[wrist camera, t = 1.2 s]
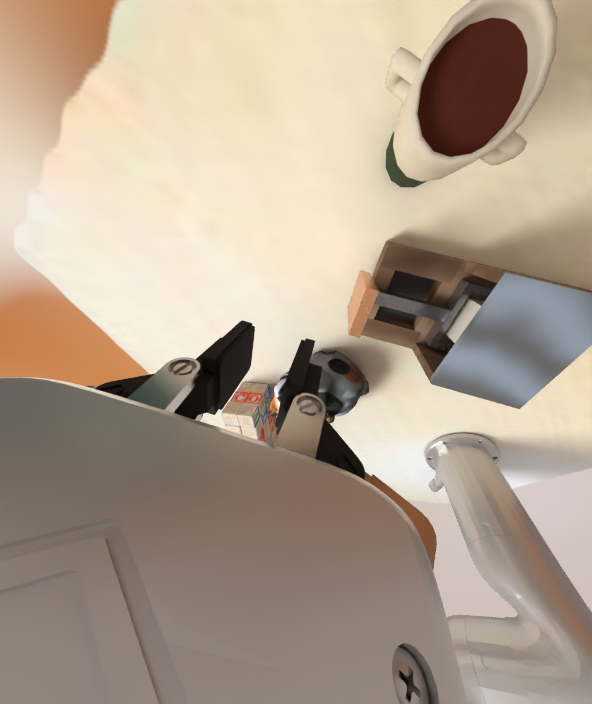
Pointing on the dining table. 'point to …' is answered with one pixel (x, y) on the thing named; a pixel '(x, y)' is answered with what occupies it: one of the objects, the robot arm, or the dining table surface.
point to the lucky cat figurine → (331, 385)
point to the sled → (409, 307)
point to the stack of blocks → (251, 413)
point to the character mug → (469, 89)
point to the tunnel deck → (436, 295)
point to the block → (463, 318)
